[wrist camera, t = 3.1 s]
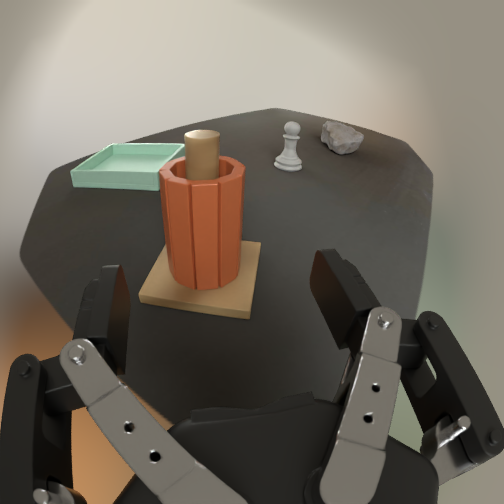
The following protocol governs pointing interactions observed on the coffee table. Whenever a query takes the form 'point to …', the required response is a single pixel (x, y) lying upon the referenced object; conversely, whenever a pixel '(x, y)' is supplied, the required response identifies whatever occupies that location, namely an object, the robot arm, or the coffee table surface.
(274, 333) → the coffee table surface
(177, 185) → the ring collar
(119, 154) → the tray
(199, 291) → the peg stand
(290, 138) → the chess piece
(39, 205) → the coffee table surface
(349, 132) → the stone
